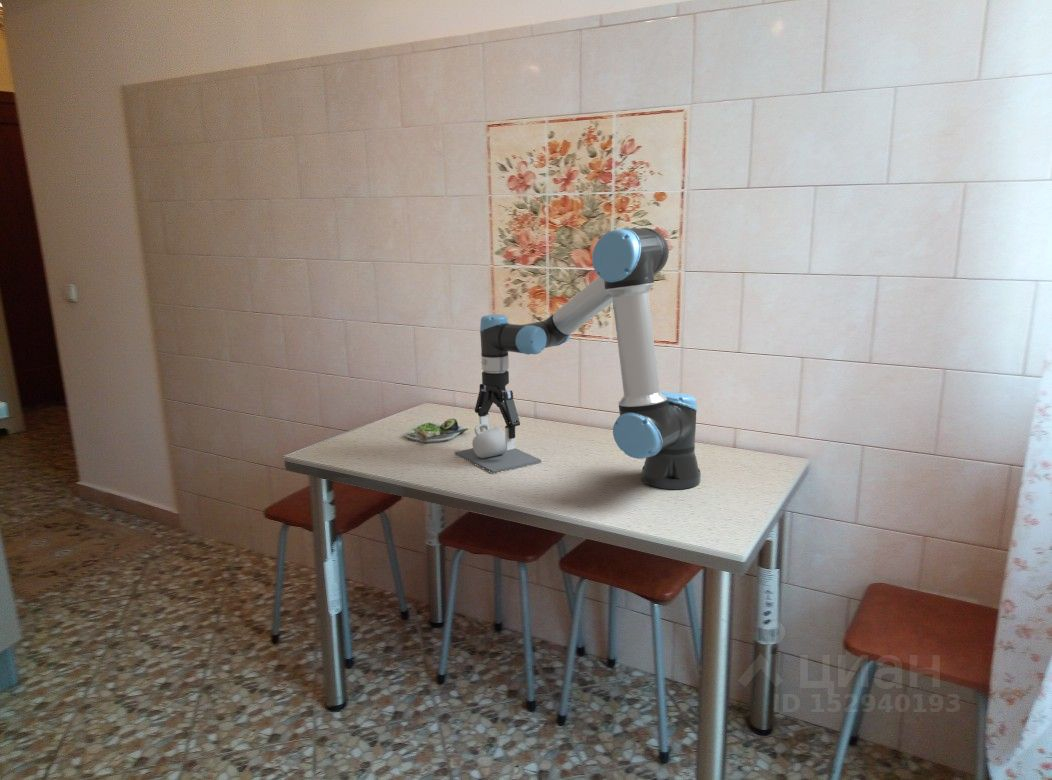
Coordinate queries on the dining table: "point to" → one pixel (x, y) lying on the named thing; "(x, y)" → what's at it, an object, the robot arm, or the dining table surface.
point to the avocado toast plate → (436, 431)
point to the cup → (489, 442)
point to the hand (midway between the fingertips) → (497, 443)
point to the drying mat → (500, 460)
